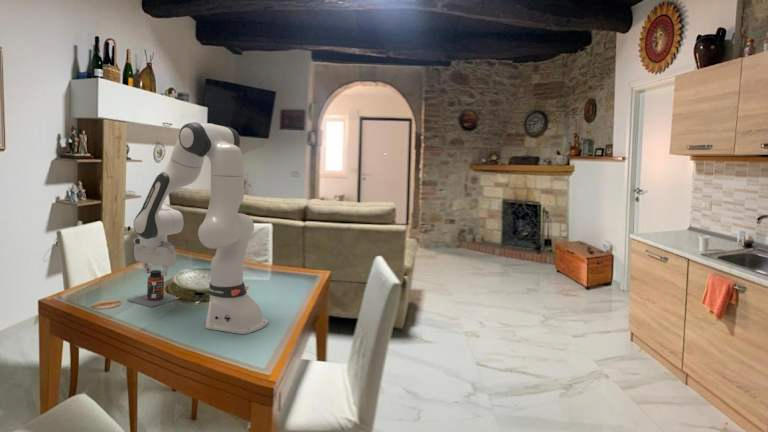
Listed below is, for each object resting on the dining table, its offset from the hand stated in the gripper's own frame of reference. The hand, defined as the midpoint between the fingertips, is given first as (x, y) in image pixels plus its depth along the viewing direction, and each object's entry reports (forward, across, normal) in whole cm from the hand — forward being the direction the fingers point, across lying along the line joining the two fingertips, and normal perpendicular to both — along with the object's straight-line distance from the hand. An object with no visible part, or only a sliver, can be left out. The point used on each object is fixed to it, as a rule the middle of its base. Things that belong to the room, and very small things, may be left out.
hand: (156, 274), depth 183 cm
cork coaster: (+10, +10, +14) cm, 20 cm away
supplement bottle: (+10, +1, 0) cm, 10 cm away
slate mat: (+10, +1, 0) cm, 11 cm away
